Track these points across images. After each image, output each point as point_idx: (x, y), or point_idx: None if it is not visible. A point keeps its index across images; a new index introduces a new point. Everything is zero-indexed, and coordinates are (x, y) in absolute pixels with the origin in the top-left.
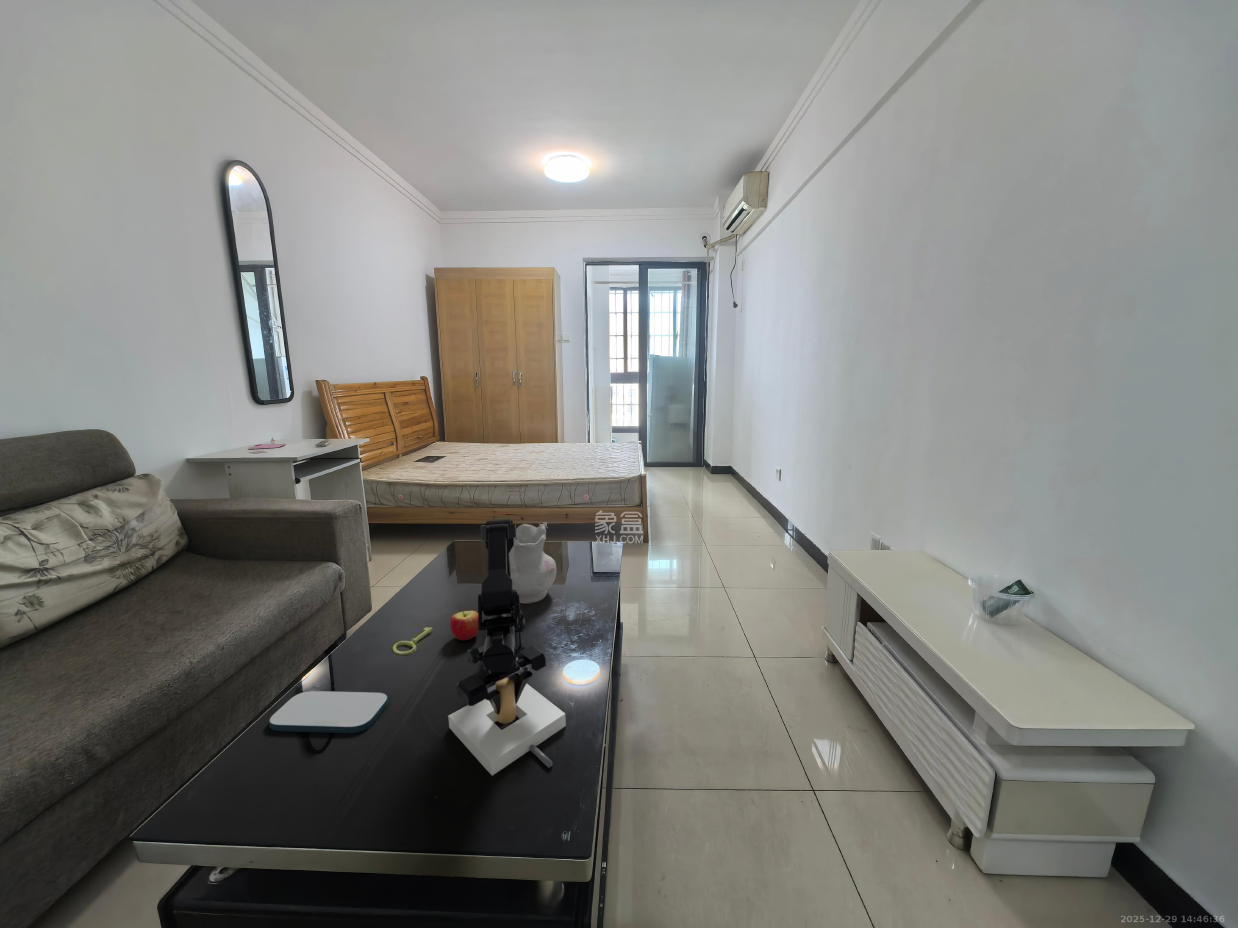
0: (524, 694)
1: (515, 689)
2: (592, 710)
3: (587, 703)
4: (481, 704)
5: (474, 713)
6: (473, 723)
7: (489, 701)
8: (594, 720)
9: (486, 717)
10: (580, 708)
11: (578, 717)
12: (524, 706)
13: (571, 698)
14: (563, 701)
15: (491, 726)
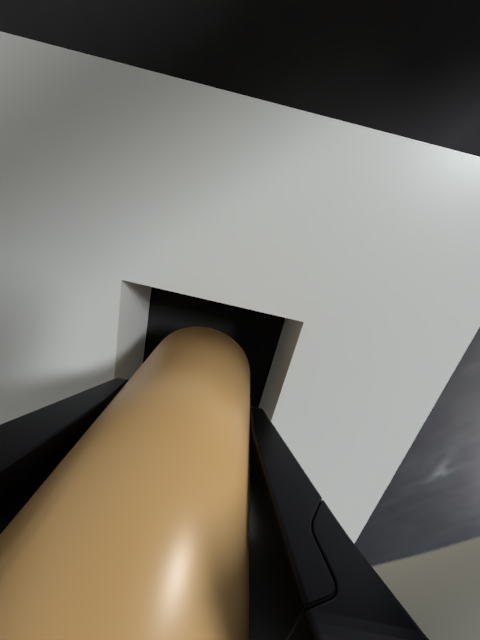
0: (385, 352)
1: (251, 570)
2: (428, 534)
3: (459, 509)
4: (165, 164)
5: (78, 199)
6: (30, 269)
7: (5, 424)
8: (384, 555)
9: (113, 298)
10: (424, 503)
11: (378, 517)
12: (297, 414)
13: (470, 455)
14: (442, 440)
15: (91, 373)
